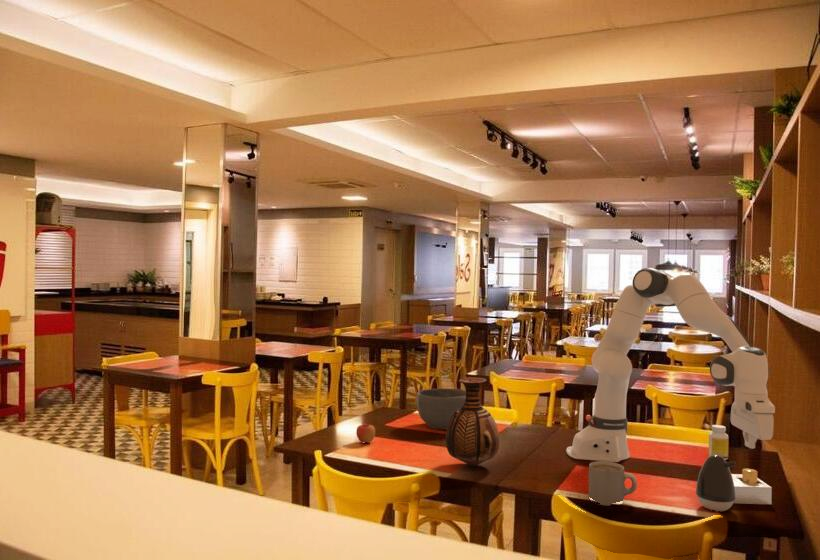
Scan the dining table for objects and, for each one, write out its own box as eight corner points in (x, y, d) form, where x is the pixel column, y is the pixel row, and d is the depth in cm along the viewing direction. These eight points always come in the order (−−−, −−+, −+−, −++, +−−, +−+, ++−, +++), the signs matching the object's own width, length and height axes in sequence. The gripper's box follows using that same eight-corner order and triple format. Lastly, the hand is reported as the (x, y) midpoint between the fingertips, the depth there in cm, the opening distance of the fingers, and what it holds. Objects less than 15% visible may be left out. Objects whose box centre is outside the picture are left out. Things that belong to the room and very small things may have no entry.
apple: (378, 443, 255) (379, 423, 255) (362, 446, 251) (362, 425, 251) (369, 439, 261) (369, 419, 261) (352, 442, 257) (353, 421, 257)
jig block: (722, 502, 194) (722, 485, 194) (706, 489, 206) (706, 473, 206) (771, 504, 193) (771, 487, 193) (752, 490, 205) (752, 474, 205)
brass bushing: (745, 499, 197) (746, 472, 197) (739, 494, 201) (740, 468, 201) (759, 499, 197) (759, 472, 197) (752, 494, 201) (753, 468, 201)
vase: (507, 475, 218) (508, 384, 217) (453, 477, 215) (454, 385, 214) (488, 456, 239) (489, 373, 238) (439, 458, 236) (440, 374, 235)
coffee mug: (586, 502, 193) (586, 468, 193) (591, 492, 202) (591, 459, 202) (634, 509, 187) (635, 474, 187) (637, 498, 196) (638, 465, 196)
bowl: (412, 420, 294) (412, 387, 294) (466, 420, 297) (466, 386, 297) (419, 434, 270) (419, 398, 270) (477, 433, 272) (478, 397, 272)
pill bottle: (730, 461, 237) (730, 429, 237) (710, 460, 238) (711, 427, 238) (725, 456, 243) (726, 424, 243) (706, 455, 244) (707, 423, 244)
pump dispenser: (729, 518, 182) (730, 463, 182) (690, 508, 189) (691, 455, 189) (740, 508, 190) (741, 455, 189) (702, 499, 196) (703, 448, 196)
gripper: (725, 394, 209) (724, 438, 209) (755, 408, 189) (754, 456, 189) (746, 395, 209) (745, 438, 209) (778, 408, 188) (777, 457, 189)
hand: (749, 447), depth 199 cm, fingers closed
